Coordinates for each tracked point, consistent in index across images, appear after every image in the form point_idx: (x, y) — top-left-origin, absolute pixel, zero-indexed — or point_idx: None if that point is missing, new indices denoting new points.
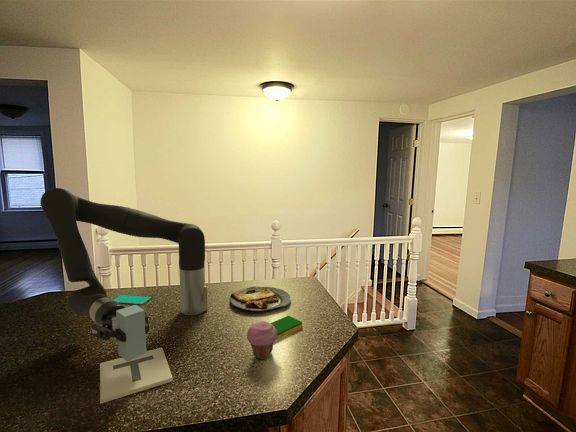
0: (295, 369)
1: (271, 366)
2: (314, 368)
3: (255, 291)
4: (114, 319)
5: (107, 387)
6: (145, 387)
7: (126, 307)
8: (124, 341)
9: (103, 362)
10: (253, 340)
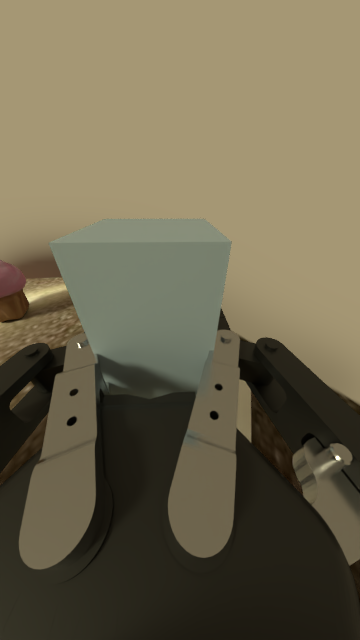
0: (43, 287)
1: (43, 300)
2: (36, 281)
3: None
4: (212, 431)
5: None
6: None
7: (138, 242)
8: None
9: None
10: (21, 278)
